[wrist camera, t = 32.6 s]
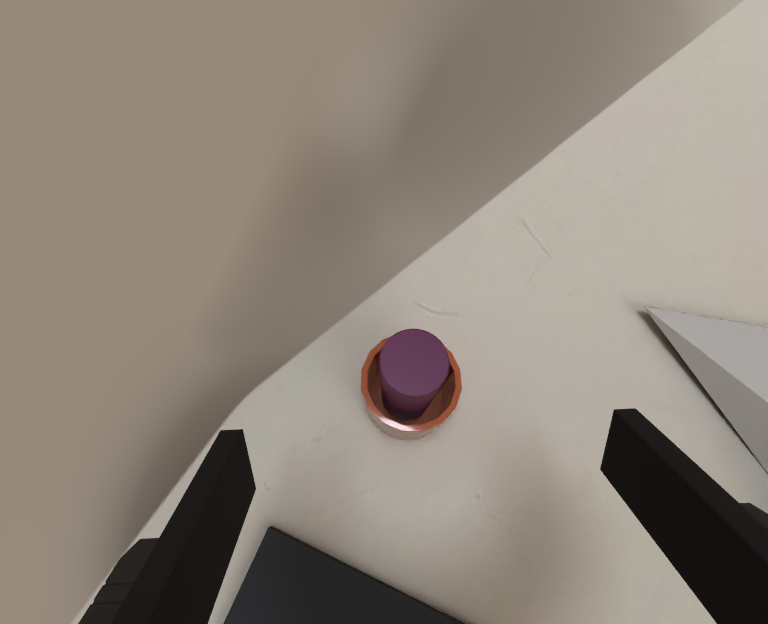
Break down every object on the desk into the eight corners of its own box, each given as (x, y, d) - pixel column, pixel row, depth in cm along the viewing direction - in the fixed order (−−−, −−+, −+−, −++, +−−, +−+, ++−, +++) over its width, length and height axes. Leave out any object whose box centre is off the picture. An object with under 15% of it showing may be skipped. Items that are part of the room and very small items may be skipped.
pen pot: (353, 420, 28) (344, 406, 22) (384, 348, 30) (384, 319, 24) (430, 453, 27) (442, 448, 21) (456, 376, 29) (473, 353, 23)
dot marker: (374, 411, 28) (368, 380, 18) (392, 368, 29) (394, 318, 20) (418, 429, 27) (436, 408, 18) (434, 385, 29) (458, 342, 19)
